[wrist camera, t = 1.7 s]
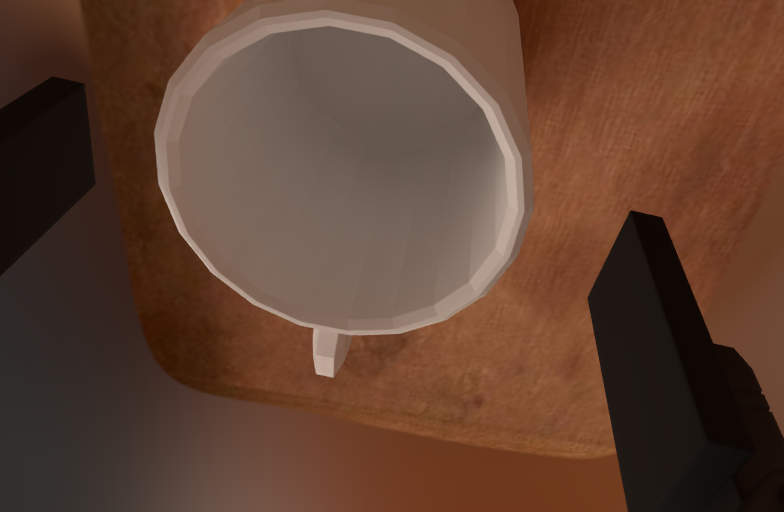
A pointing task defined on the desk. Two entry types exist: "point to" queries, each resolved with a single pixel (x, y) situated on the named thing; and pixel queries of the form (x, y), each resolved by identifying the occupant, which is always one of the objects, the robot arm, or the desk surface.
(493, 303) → the desk surface
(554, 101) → the desk surface
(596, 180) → the desk surface
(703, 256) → the desk surface
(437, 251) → the mug
